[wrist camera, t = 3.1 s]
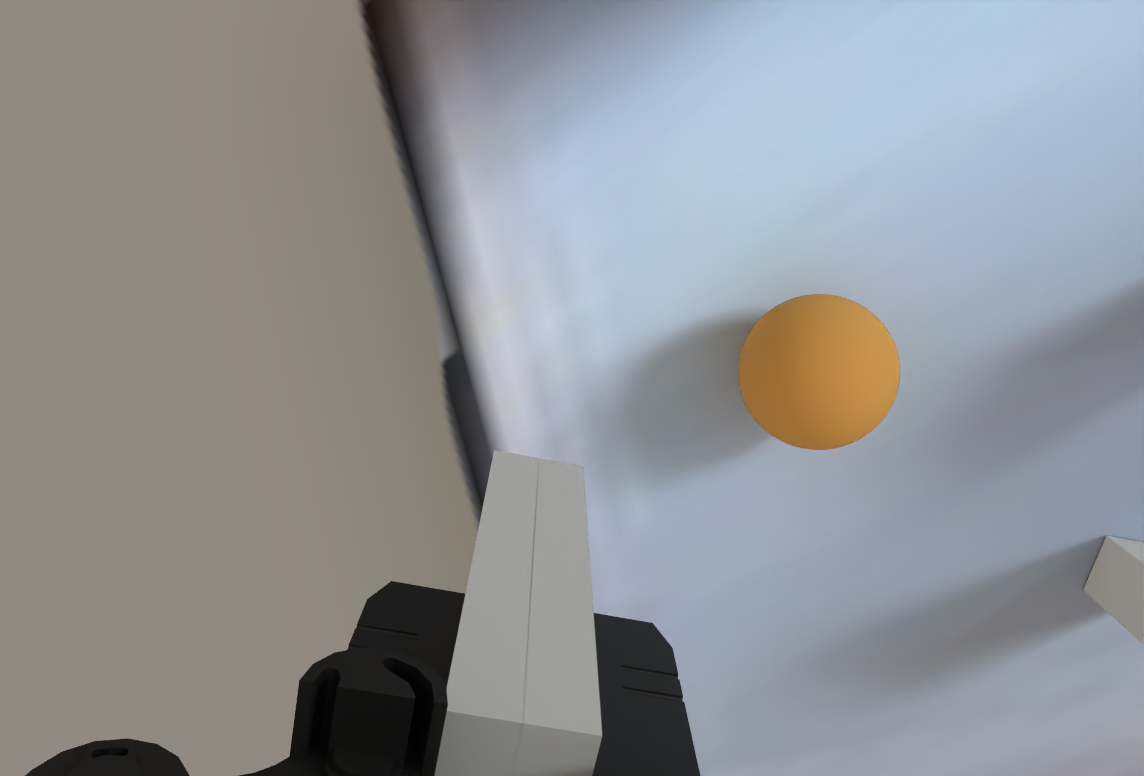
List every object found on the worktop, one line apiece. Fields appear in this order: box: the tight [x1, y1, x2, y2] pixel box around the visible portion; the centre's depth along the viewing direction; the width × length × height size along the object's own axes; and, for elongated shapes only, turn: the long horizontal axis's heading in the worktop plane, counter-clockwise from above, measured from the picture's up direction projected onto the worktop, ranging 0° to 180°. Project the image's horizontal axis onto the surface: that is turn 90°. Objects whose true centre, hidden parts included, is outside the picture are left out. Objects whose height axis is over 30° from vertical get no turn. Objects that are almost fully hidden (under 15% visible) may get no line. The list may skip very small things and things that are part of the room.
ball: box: [738, 294, 900, 450], centre depth 30 cm, size 6×6×6 cm
